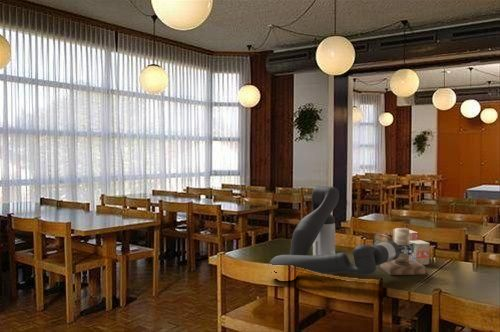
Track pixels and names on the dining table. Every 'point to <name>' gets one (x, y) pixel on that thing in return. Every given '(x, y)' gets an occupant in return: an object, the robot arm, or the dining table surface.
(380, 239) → the tin
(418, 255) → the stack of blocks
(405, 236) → the dowel
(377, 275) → the dining table surface
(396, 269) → the board
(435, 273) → the dining table surface
